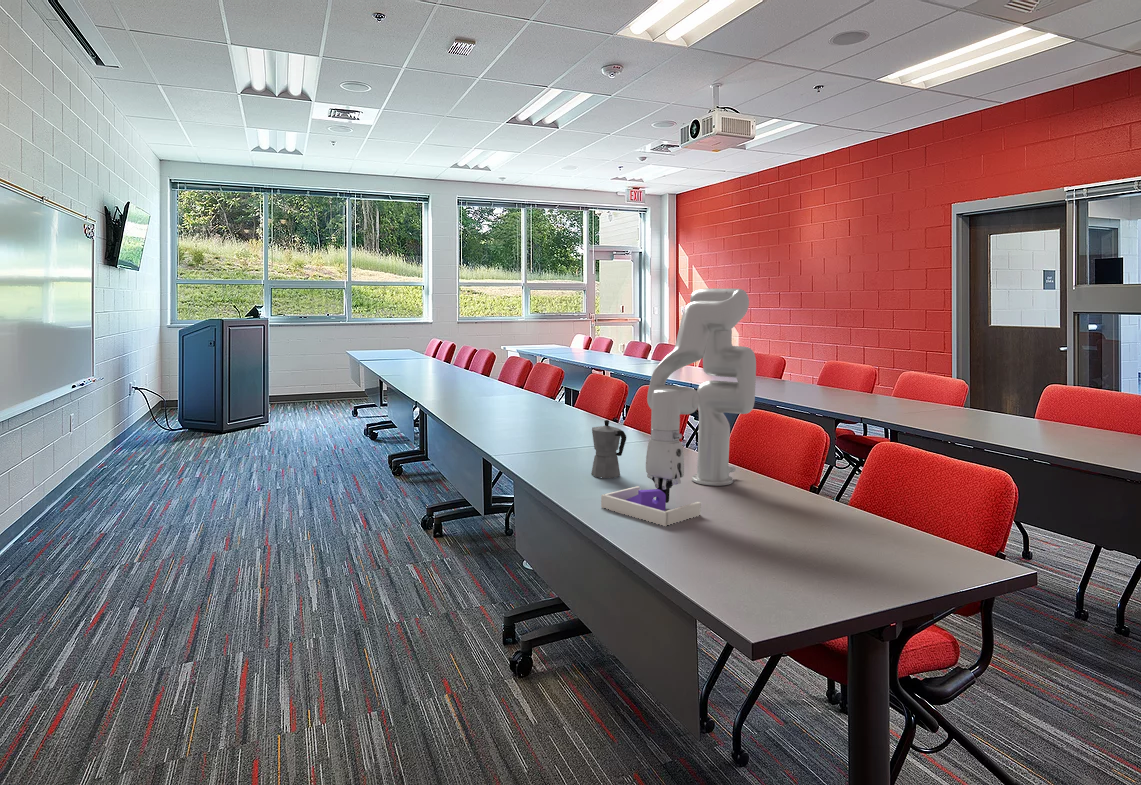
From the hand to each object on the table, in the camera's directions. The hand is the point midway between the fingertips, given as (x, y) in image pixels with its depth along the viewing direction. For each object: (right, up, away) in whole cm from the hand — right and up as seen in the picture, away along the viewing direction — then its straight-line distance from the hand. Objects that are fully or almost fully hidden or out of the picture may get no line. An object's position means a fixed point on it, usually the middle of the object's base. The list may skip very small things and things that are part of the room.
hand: (662, 502), depth 189 cm
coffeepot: (-13, +3, +36) cm, 38 cm away
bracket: (-5, -2, -1) cm, 6 cm away
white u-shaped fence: (-4, -2, -3) cm, 5 cm away
